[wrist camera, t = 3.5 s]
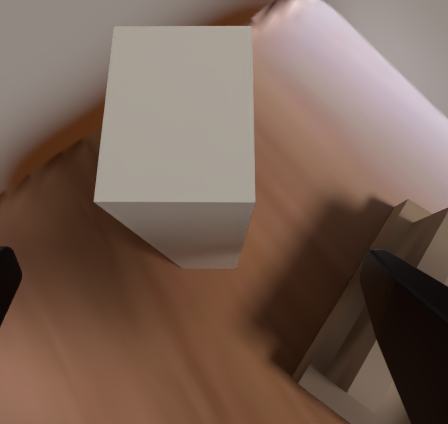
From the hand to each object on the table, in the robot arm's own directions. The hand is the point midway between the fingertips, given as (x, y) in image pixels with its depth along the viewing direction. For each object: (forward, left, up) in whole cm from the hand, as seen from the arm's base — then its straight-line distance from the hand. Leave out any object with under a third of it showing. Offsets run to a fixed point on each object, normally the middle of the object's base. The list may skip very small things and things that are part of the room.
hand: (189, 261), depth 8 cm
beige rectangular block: (+1, +3, -10) cm, 10 cm away
